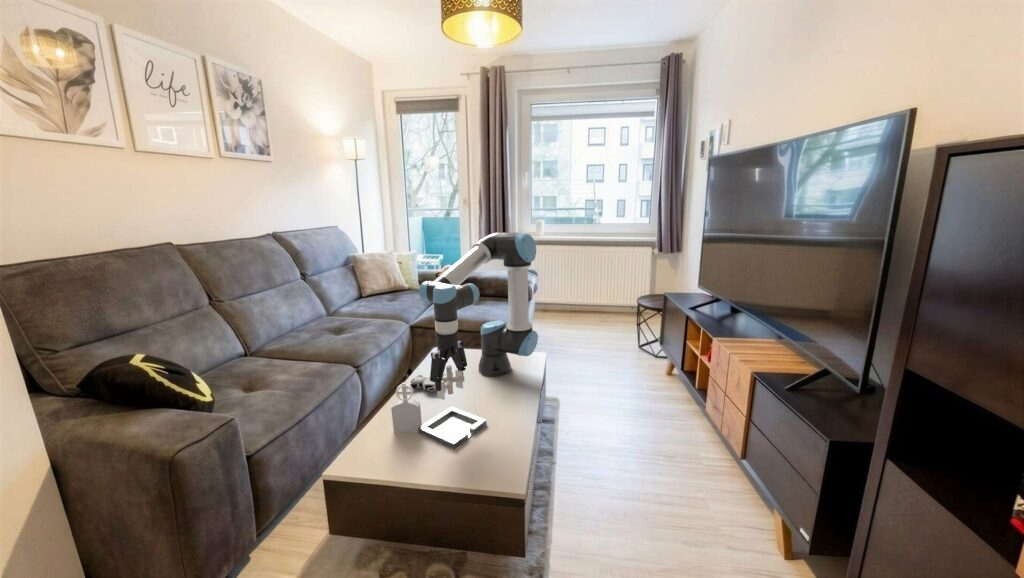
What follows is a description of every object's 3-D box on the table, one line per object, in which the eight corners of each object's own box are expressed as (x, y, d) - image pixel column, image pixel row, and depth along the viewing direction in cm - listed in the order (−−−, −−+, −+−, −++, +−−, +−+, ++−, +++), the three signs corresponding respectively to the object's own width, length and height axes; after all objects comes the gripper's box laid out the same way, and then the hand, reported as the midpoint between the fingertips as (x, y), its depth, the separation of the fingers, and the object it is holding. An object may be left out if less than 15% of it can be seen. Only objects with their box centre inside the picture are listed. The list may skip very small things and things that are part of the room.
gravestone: (395, 427, 146) (391, 381, 141) (421, 426, 146) (418, 380, 142) (393, 432, 143) (389, 385, 139) (420, 431, 143) (416, 384, 139)
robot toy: (405, 394, 171) (438, 395, 168) (403, 384, 170) (436, 385, 167) (417, 381, 183) (449, 381, 180) (416, 372, 182) (447, 372, 179)
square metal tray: (451, 411, 156) (451, 406, 155) (486, 424, 146) (486, 419, 146) (418, 432, 142) (417, 427, 142) (454, 449, 133) (453, 444, 132)
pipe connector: (437, 387, 145) (435, 361, 143) (465, 385, 146) (464, 359, 144) (434, 401, 136) (432, 373, 133) (464, 399, 137) (463, 372, 134)
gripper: (460, 320, 146) (463, 378, 151) (414, 338, 129) (419, 402, 134) (476, 324, 142) (478, 383, 147) (431, 343, 125) (436, 409, 130)
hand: (450, 392), depth 141 cm, fingers closed on pipe connector, 9 cm apart
